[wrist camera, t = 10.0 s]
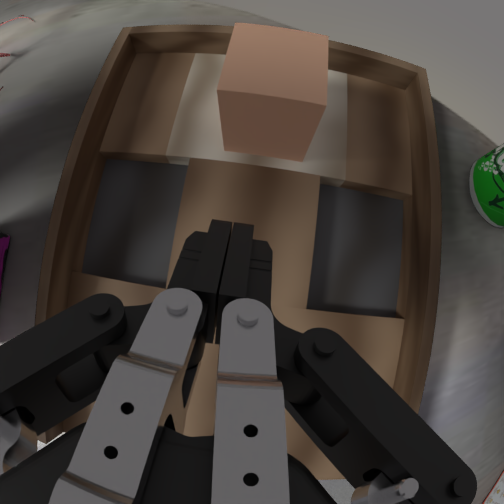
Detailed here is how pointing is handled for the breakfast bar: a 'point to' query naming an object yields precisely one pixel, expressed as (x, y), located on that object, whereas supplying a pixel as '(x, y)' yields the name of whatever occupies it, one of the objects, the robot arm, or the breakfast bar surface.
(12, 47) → the breakfast bar surface
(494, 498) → the cracker box
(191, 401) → the box
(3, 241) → the candy bar box
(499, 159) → the soda can
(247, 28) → the block
